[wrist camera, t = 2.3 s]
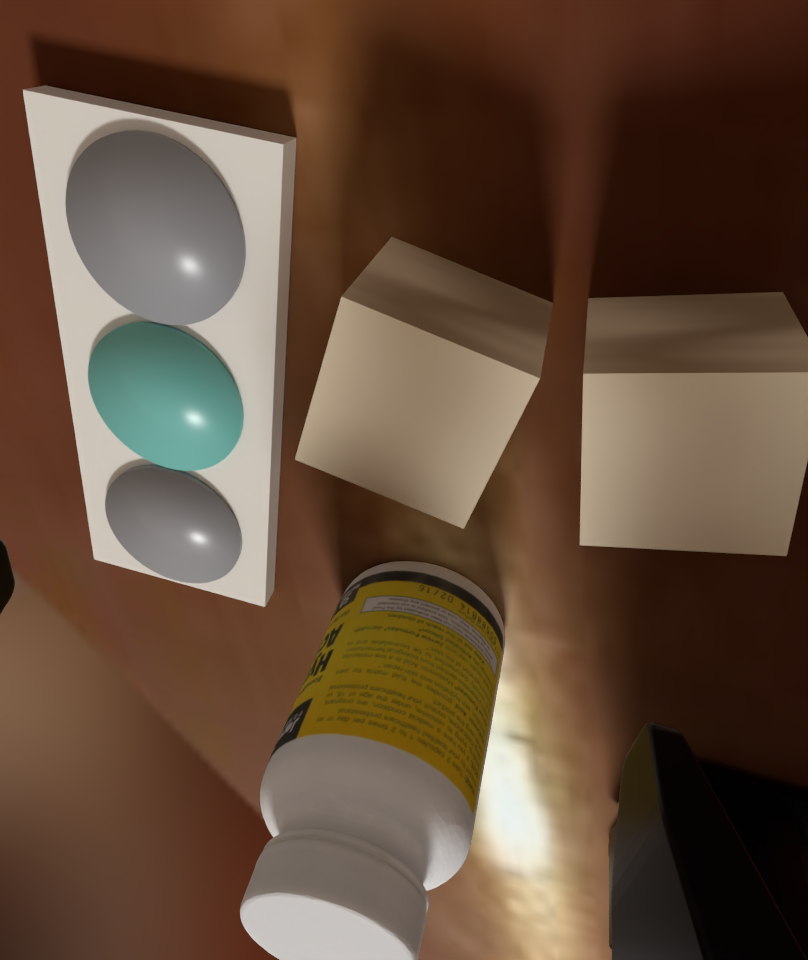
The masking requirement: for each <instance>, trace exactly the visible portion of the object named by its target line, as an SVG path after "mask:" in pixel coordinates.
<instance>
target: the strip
mask: <svg viewBox="0 0 808 960" xmlns="http://www.w3.org/2000/svg"><path fill="white" fill-rule="evenodd" d="M23 95H24V101H25V108H26V114H27V121H28V127H29V134H30V141H31V147H32V154H33V160H34V167H35V174H36V180H37V187H38V193H39V200H40V206H41V213H42V220H43V226H44V233H45V239H46V246H47V252H48V259H49V266H50V272H51V279H52V285H53V292H54V298H55V305H56V312H57V318H58V325H59V331H60V338H61V344H62V351H63V358H64V364H65V371H66V377H67V384H68V390H69V397H70V404H71V410H72V417H73V423H74V430H75V437H76V443H77V450H78V456H79V463H80V469H81V476H82V483H83V489H84V496H85V502H86V509H87V515H88V522H89V529H90V535H91V542H92V548H93V555H94V559H95V560H99V561H102V562H106V563H109V564H113V565H117V566H120V567H124V568H127V569H131V570H135V571H138V572H142V573H145V574H149V575H152V576H156V577H160V578H163V579H167V580H170V581H174V582H177V583H181V584H185V585H188V586H192V587H195V588H199V589H203V590H206V591H210V592H213V593H217V594H220V595H224V596H228V597H231V598H235V599H238V600H242V601H246V602H249V603H253V604H256V605H260V606H263V607H265V606H266V604H267V602H268V601H269V599H270V597H271V595H272V593H273V591H274V583H275V563H276V543H277V523H278V502H279V482H280V462H281V442H282V421H283V401H284V381H285V361H286V341H287V320H288V300H289V280H290V260H291V239H292V219H293V199H294V179H295V159H296V137H291V136H286V135H281V134H276V133H272V132H267V131H262V130H257V129H252V128H248V127H243V126H238V125H233V124H228V123H224V122H219V121H214V120H209V119H204V118H200V117H195V116H190V115H185V114H180V113H176V112H171V111H166V110H161V109H156V108H152V107H147V106H142V105H137V104H132V103H128V102H123V101H118V100H113V99H108V98H104V97H99V96H94V95H89V94H84V93H80V92H75V91H70V90H65V89H60V88H56V87H51V86H46V85H45V86H40V87H35V88H29V89H24V90H23Z"/></svg>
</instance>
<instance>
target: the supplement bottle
mask: <svg viewBox="0 0 808 960" xmlns="http://www.w3.org/2000/svg"><path fill="white" fill-rule="evenodd" d="M504 647H505V630H504V625H503V622H502V619H501V616H500V614H499V612H498V610H497V608H496V606H495V605H494V603H493V602H492V601H491V599H490V598H489V597H488V596H487V595H486V593H485V592H484V591H483V590H482V589H481V588H479V587H478V586H477V585H476V584H474V583H473V582H472V581H470V580H469V579H467V578H465V577H464V576H462V575H460V574H458V573H456V572H454V571H452V570H449V569H447V568H444V567H441V566H438V565H434V564H430V563H425V562H415V561H397V562H390V563H384V564H380V565H377V566H374V567H372V568H370V569H368V570H366V571H364V572H363V573H361V574H360V575H359V576H358V577H356V578H355V579H354V580H353V581H352V582H351V584H350V585H349V586H348V588H347V589H346V591H345V592H344V594H343V596H342V598H341V600H340V602H339V604H338V606H337V608H336V610H335V612H334V614H333V616H332V619H331V622H330V625H329V627H328V629H327V631H326V634H325V636H324V638H323V640H322V643H321V645H320V647H319V649H318V652H317V654H316V656H315V659H314V661H313V663H312V666H311V668H310V670H309V673H308V675H307V677H306V680H305V682H304V684H303V686H302V689H301V691H300V693H299V695H298V697H297V699H296V701H295V704H294V706H293V709H292V711H291V713H290V715H289V718H288V720H287V722H286V724H285V726H284V729H283V731H282V733H281V735H280V738H279V740H278V742H277V744H276V746H275V749H274V751H273V753H272V755H271V758H270V760H269V762H268V765H267V768H266V771H265V774H264V776H263V779H262V783H261V790H260V804H261V810H262V814H263V817H264V820H265V823H266V825H267V827H268V829H269V831H270V832H271V834H272V836H273V837H274V838H273V839H271V840H270V841H269V842H268V843H267V845H266V846H265V848H264V850H263V853H262V854H261V855H260V857H259V859H258V861H257V863H256V867H255V869H254V872H253V875H252V877H251V880H250V882H249V885H248V887H247V890H246V893H245V895H244V898H243V900H242V903H241V908H240V917H241V921H242V924H243V926H244V928H245V929H246V931H247V932H248V933H249V935H250V936H251V937H252V938H253V939H254V940H255V941H256V942H257V943H258V944H259V945H260V946H262V947H263V948H264V949H265V950H266V951H268V952H269V953H270V954H272V955H273V956H275V957H276V958H278V959H280V960H417V959H418V955H419V950H420V946H421V941H422V936H423V931H424V926H425V922H426V913H427V910H428V905H429V898H428V894H427V891H428V890H431V889H433V888H436V887H438V886H440V885H441V884H443V883H445V882H446V881H448V880H449V879H450V878H451V877H452V876H453V875H454V874H455V873H456V872H457V871H458V870H459V869H460V867H461V866H462V864H463V863H464V861H465V859H466V857H467V855H468V852H469V848H470V845H471V840H472V835H473V829H474V823H475V816H476V810H477V804H478V799H479V793H480V787H481V781H482V775H483V769H484V764H485V758H486V752H487V746H488V741H489V735H490V730H491V723H492V717H493V712H494V706H495V700H496V694H497V689H498V683H499V678H500V672H501V666H502V660H503V654H504Z"/></svg>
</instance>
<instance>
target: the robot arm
mask: <svg viewBox="0 0 808 960" xmlns="http://www.w3.org/2000/svg"><path fill="white" fill-rule="evenodd" d="M14 586H15V579H14V575H13V571H12V567H11V563H10V558H9V554H8V550H7V547H6V544H5V543H4V542H3V541H2V540H0V613H1V612H2V610H3V609H4V607H5V605H6V604H7V603H8V601H9V599H10V598H11V596H12V593H13V590H14ZM609 946H610V948H611V949H612V960H808V792H804V791H801V790H797V789H794V788H790V787H787V786H783V785H780V784H776V783H773V782H769V781H766V780H762V779H759V778H755V777H752V776H748V775H744V774H741V773H737V772H734V771H730V770H727V769H723V768H720V767H716V766H713V765H709V764H706V763H702V762H699V761H697V759H696V757H695V756H694V754H693V752H692V750H691V748H690V747H689V745H688V743H687V741H686V739H685V737H684V736H683V734H682V733H681V732H680V731H679V730H677V729H675V728H672V727H668V726H665V725H661V724H658V723H654V722H648V723H646V724H645V725H644V726H643V728H642V729H641V731H640V733H639V735H638V736H637V738H636V740H635V742H634V744H633V745H632V747H631V749H630V751H629V752H628V754H627V756H626V758H625V761H624V765H623V769H622V775H621V786H620V797H619V808H618V819H617V822H616V823H615V825H614V827H613V828H612V830H611V832H610V834H609Z"/></svg>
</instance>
